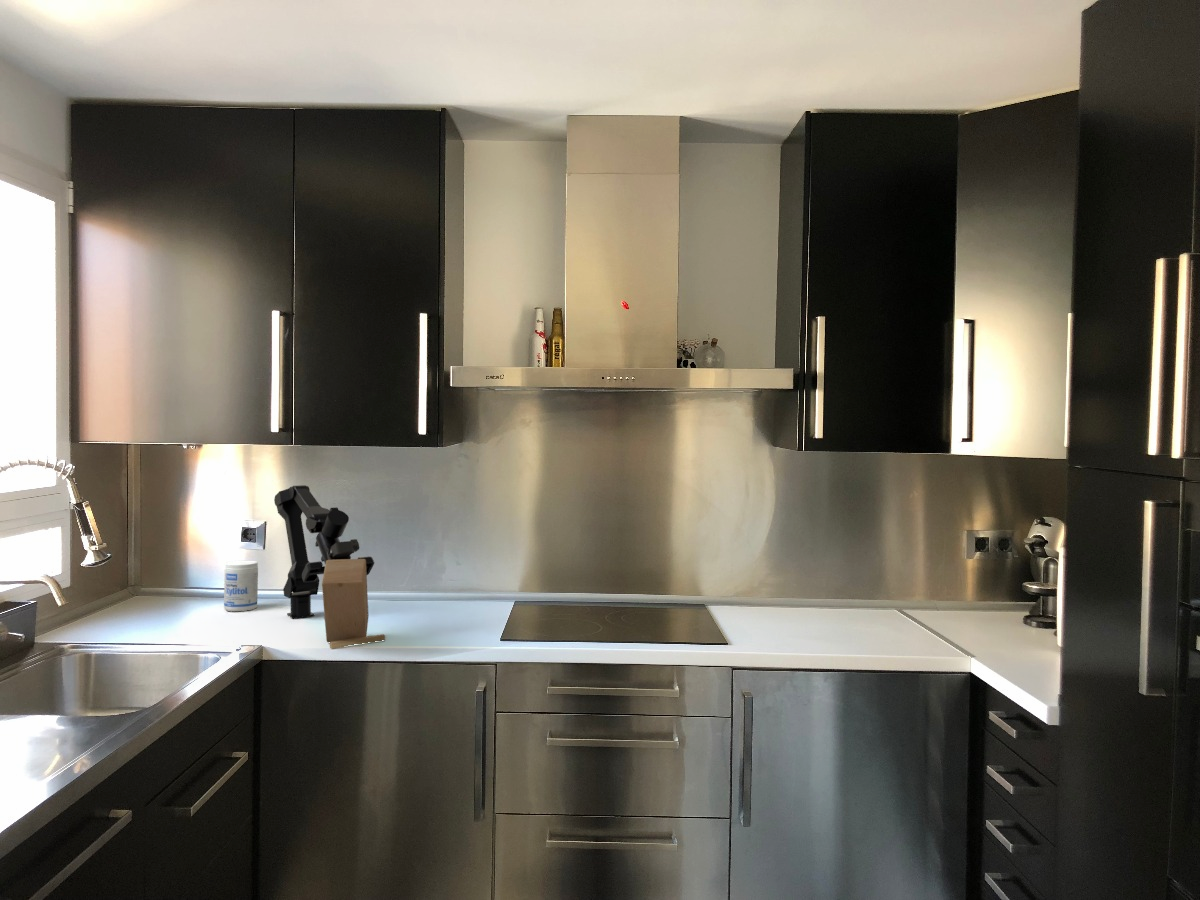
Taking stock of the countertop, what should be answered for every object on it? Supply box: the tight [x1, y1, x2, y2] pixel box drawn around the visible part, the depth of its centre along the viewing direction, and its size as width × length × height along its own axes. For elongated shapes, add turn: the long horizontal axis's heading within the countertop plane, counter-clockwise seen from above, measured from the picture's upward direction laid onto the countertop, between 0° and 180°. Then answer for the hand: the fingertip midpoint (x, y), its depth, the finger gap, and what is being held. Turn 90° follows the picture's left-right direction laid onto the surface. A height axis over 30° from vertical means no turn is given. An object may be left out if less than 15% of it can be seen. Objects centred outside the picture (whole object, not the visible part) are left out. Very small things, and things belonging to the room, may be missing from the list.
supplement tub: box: [223, 560, 259, 612], centre depth 243 cm, size 10×10×15 cm
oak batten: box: [329, 633, 386, 650], centre depth 203 cm, size 2×14×2 cm, turn 125°
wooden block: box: [321, 558, 369, 643], centre depth 204 cm, size 10×10×20 cm
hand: (348, 593), depth 209 cm, fingers closed
